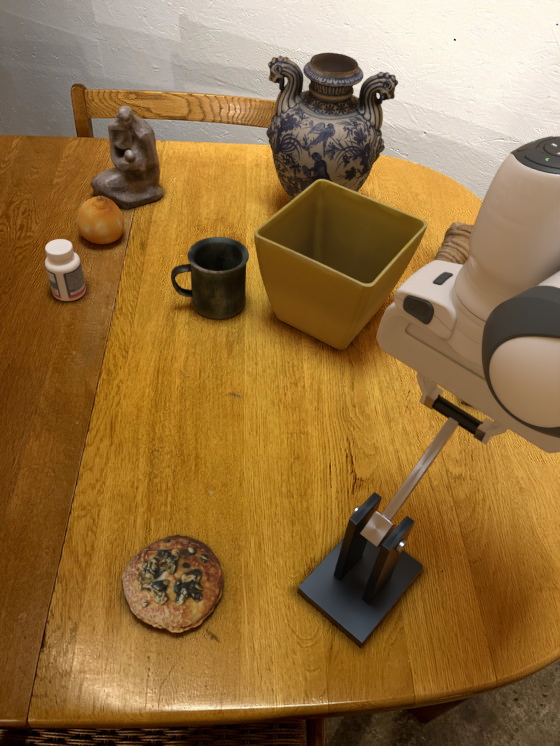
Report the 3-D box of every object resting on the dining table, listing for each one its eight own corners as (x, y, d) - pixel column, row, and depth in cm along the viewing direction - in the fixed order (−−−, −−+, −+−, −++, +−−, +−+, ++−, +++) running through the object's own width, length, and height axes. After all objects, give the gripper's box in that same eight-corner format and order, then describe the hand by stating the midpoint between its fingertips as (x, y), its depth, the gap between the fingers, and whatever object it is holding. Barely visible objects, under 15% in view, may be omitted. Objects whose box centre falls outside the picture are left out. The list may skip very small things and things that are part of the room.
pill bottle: (89, 281, 107) (80, 237, 100) (82, 303, 103) (73, 258, 97) (56, 280, 106) (45, 235, 100) (48, 301, 103) (36, 256, 96)
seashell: (432, 295, 117) (470, 298, 111) (413, 263, 112) (453, 264, 106) (467, 241, 121) (506, 241, 115) (450, 208, 116) (490, 206, 110)
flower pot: (407, 306, 108) (431, 220, 95) (351, 374, 96) (370, 287, 84) (309, 262, 114) (320, 176, 102) (247, 321, 103) (250, 233, 90)
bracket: (360, 523, 80) (380, 458, 70) (421, 570, 76) (452, 509, 66) (296, 591, 73) (308, 531, 63) (360, 647, 70) (383, 592, 59)
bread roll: (219, 533, 77) (217, 517, 73) (228, 631, 71) (227, 619, 67) (124, 545, 76) (117, 530, 72) (125, 645, 70) (117, 635, 66)
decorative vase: (373, 193, 130) (401, 47, 110) (368, 247, 118) (399, 95, 97) (268, 178, 132) (276, 32, 111) (252, 231, 119) (258, 77, 98)
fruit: (140, 230, 113) (118, 186, 110) (102, 252, 109) (78, 208, 106) (120, 231, 119) (98, 190, 116) (83, 252, 116) (60, 211, 112)
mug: (252, 318, 103) (255, 268, 96) (177, 327, 101) (173, 278, 93) (241, 282, 109) (242, 233, 102) (169, 290, 106) (165, 241, 99)
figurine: (89, 208, 121) (72, 114, 107) (98, 174, 128) (83, 83, 115) (161, 210, 122) (153, 118, 108) (165, 177, 129) (158, 86, 116)
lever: (442, 398, 68) (440, 393, 66) (484, 425, 66) (483, 421, 64) (353, 525, 68) (348, 524, 66) (393, 555, 66) (388, 556, 64)
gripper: (628, 363, 53) (563, 460, 63) (419, 252, 62) (391, 353, 72) (597, 406, 50) (534, 500, 60) (380, 282, 58) (357, 383, 69)
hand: (455, 419), depth 66 cm, fingers closed on lever, 5 cm apart
